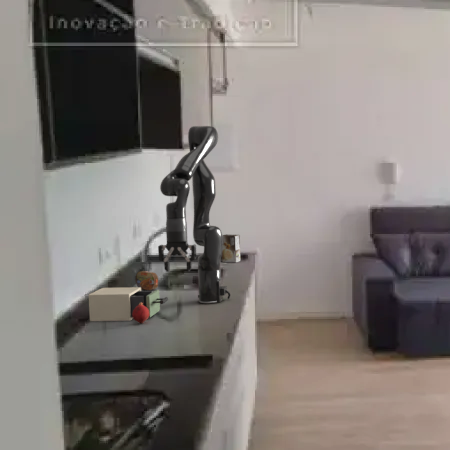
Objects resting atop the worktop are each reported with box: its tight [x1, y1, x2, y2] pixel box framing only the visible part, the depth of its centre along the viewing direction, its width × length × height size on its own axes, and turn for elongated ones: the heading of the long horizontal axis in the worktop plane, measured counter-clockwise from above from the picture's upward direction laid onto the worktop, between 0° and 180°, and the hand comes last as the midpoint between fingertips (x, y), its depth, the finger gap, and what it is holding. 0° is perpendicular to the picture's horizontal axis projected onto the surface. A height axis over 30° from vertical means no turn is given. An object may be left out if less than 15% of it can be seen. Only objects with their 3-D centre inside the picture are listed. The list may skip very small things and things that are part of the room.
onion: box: [132, 302, 150, 324], centre depth 235 cm, size 6×6×8 cm
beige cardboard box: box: [88, 286, 142, 322], centre depth 244 cm, size 15×13×10 cm
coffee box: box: [221, 233, 241, 263], centre depth 374 cm, size 9×6×16 cm
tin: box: [134, 270, 159, 291], centre depth 296 cm, size 15×3×8 cm, turn 56°
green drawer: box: [130, 289, 169, 319], centre depth 245 cm, size 18×12×8 cm, turn 95°
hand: (178, 271), depth 245 cm, fingers open, 7 cm apart
